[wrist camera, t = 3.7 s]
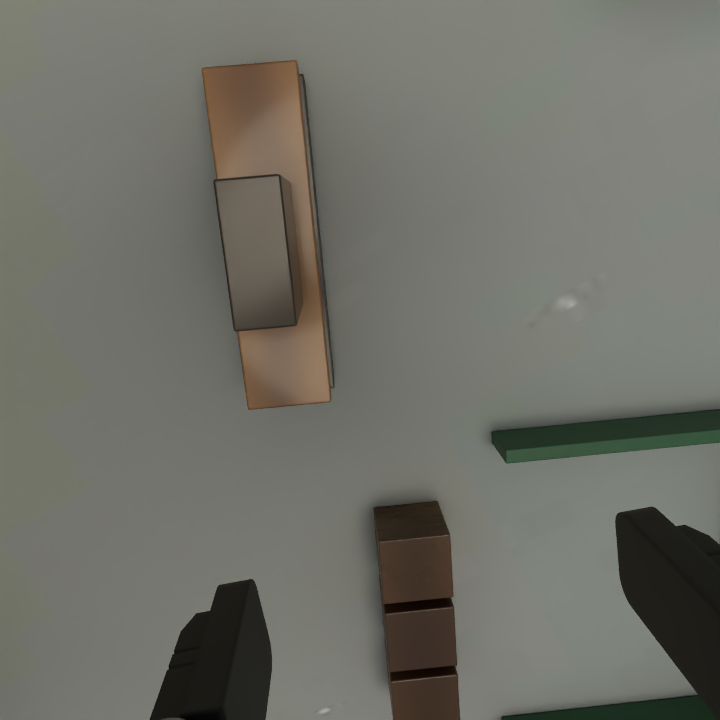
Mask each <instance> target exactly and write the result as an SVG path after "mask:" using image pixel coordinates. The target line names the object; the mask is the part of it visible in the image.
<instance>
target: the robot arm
mask: <svg viewBox="0 0 720 720" xmlns="http://www.w3.org/2000/svg"><path fill="white" fill-rule="evenodd" d="M615 523H616V537H617V549H618V562H619V574H620V581H621V585H622V588H623V591H624V594H625V596H626V598H627V600H628V602H629V604H630V605H631V607H632V608H633V609H634V611H635V612H636V613H637V615H638V616H639V617H640V619H641V620H642V621H643V622H644V624H645V625H646V626H647V628H648V629H649V630H650V632H651V633H652V634H653V636H654V637H655V638H656V640H657V641H658V642H659V644H660V645H661V646H662V647H663V649H664V650H665V651H666V653H667V654H668V655H669V657H670V658H671V659H672V661H673V662H674V663H675V665H676V666H677V667H678V669H679V670H680V671H681V672H682V674H683V675H684V676H685V678H686V679H687V680H688V682H689V683H690V684H691V686H692V687H693V688H694V690H695V691H696V692H697V694H698V695H699V696H700V697H701V699H702V700H703V701H704V703H705V704H706V705H707V707H708V708H709V709H710V711H711V712H712V713H713V715H714V716H715V717H716V718H717V720H720V545H719V544H718V543H717V542H716V541H715V540H713V539H712V538H711V537H710V536H709V535H706V534H704V533H702V532H700V531H697V530H695V529H693V528H691V527H688V526H686V525H681V526H675V525H674V524H673V523H672V522H671V521H669V520H668V519H667V518H666V517H665V516H664V515H663V514H662V513H661V512H660V511H658V510H657V509H656V508H654V507H647V508H642V509H636V510H631V511H625V512H620V513H618V514H617V515H616V521H615ZM271 672H272V654H271V645H270V639H269V635H268V631H267V627H266V623H265V619H264V615H263V611H262V607H261V603H260V599H259V595H258V591H257V587H256V584H255V582H254V580H253V579H249V580H244V581H238V582H233V583H227V584H222V585H219V586H218V587H217V590H216V593H215V596H214V600H213V603H212V606H211V610H210V611H207V612H202V613H196V614H195V616H194V617H193V618H192V619H191V620H190V621H189V623H188V624H187V625H186V626H185V627H184V629H183V630H182V631H181V633H180V636H179V638H178V641H177V644H176V647H175V650H174V654H173V655H172V658H171V661H170V664H169V670H167V672H166V675H165V678H164V681H163V683H162V686H161V689H160V692H159V695H158V698H157V700H156V703H155V706H154V709H153V712H152V714H151V717H150V720H265V719H266V711H267V703H268V696H269V688H270V680H271Z"/></svg>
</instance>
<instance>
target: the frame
mask: <svg viewBox="0 0 720 720" xmlns="http://www.w3.org/2000/svg"><path fill="white" fill-rule="evenodd" d="M719 442H720V410H711V411H701V412H690V413H680V414H670V415H660V416H649V417H639V418H629V419H619V420H608V421H598V422H588V423H578V424H568V425H557V426H547V427H537V428H527V429H516V430H506V431H496V432H492V443H493V445H494V446H495V448H496V449H497V451H498V452H499V454H500V455H501V456H502V458H503V459H504V461H505V462H506V463H517V462H527V461H537V460H547V459H557V458H567V457H577V456H587V455H597V454H607V453H618V452H628V451H638V450H648V449H658V448H668V447H678V446H688V445H698V444H708V443H719ZM502 720H717V718H716V717H715V716H714V715H713V713H712V712H711V711H710V709H709V708H708V707H707V705H706V704H705V703H704V701H703V700H702V699H701V697H700V696H690V697H681V698H672V699H663V700H654V701H645V702H636V703H627V704H618V705H608V706H599V707H590V708H581V709H572V710H563V711H554V712H545V713H536V714H527V715H517V716H508V717H502Z"/></svg>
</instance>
